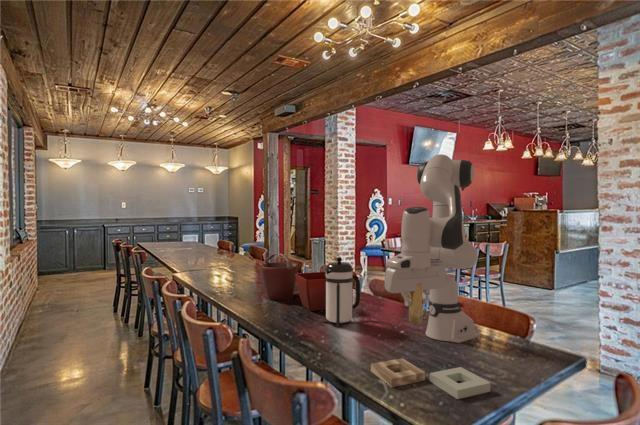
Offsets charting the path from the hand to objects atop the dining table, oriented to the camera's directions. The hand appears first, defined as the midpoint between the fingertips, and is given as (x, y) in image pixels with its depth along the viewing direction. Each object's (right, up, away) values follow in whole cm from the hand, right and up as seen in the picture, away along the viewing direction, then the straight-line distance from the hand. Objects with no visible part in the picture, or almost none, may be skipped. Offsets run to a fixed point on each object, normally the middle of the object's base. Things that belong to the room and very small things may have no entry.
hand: (415, 304), depth 121 cm
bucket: (-53, -21, +109) cm, 123 cm away
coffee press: (-20, -22, +59) cm, 66 cm away
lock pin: (0, -5, 0) cm, 5 cm away
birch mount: (-5, -23, +2) cm, 24 cm away
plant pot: (-31, -22, +85) cm, 93 cm away
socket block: (+12, -23, -5) cm, 26 cm away
